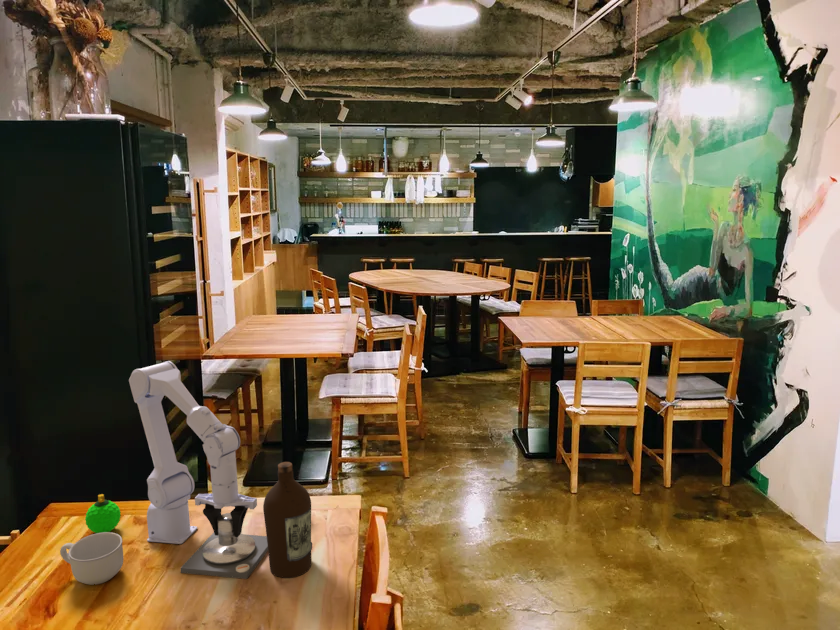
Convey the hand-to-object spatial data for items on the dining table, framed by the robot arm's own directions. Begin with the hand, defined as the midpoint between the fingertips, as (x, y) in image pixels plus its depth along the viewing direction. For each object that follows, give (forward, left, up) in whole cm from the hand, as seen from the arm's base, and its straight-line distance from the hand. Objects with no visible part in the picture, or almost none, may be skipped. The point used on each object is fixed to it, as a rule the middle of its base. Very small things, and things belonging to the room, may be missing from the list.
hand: (228, 534), depth 151 cm
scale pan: (0, 0, -4) cm, 4 cm away
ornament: (-37, +6, -6) cm, 38 cm away
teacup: (-27, -12, -6) cm, 30 cm away
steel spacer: (0, 0, -2) cm, 2 cm away
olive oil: (+16, -2, -6) cm, 17 cm away
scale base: (0, 0, -6) cm, 6 cm away
